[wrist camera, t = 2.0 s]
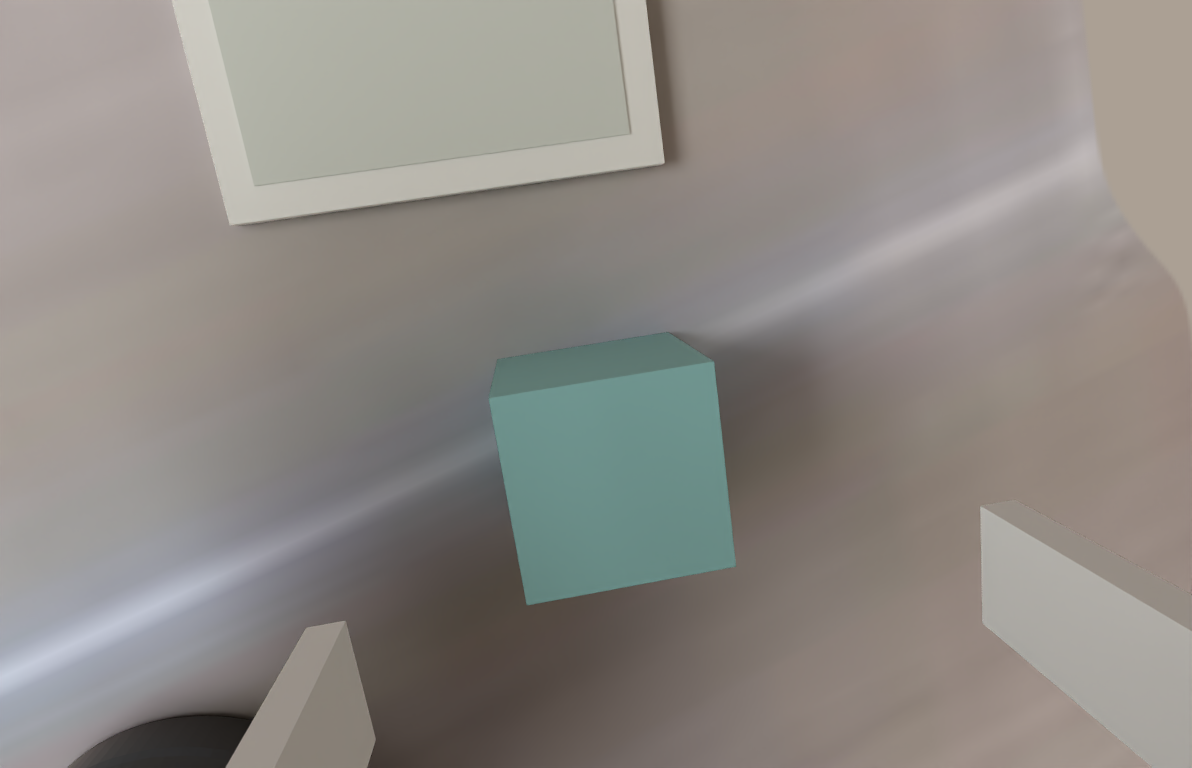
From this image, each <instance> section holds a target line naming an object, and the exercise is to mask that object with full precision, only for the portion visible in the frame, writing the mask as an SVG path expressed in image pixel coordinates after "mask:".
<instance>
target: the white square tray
mask: <svg viewBox="0 0 1192 768" xmlns="http://www.w3.org/2000/svg"><path fill="white" fill-rule="evenodd" d="M172 4H173V8H174V12H175V16H176V19H177V23H178V27H179V31H180V35H181V39H182V43H183V46H184V50H185V54H186V58H187V62H188V66H189V70H190V74H191V77H192V81H193V85H194V89H195V93H196V97H197V101H198V104H199V108H200V112H201V116H202V120H203V124H204V128H205V132H206V135H207V139H208V143H209V147H210V151H211V155H212V159H213V162H214V166H215V170H216V174H217V178H218V182H219V186H220V189H221V193H222V197H223V201H224V205H225V209H226V213H227V217H228V220H229V224H230V225H235V226H240V225H247V224H254V223H261V222H268V221H275V220H282V219H289V218H296V217H303V216H310V215H317V214H324V213H331V212H338V211H345V210H352V209H359V208H366V207H373V206H380V205H387V204H394V203H401V202H408V201H415V200H422V199H429V198H436V197H443V196H450V195H457V194H464V193H471V192H478V191H485V190H492V189H499V188H506V187H513V186H520V185H527V184H534V183H541V182H548V181H555V180H562V179H569V178H576V177H583V176H590V175H597V174H604V173H611V172H618V171H625V170H632V169H639V168H646V167H653V166H660V165H662V164H664V163H665V161H664V153H663V144H662V136H661V127H660V118H659V110H658V101H657V93H656V84H655V76H654V67H653V58H652V50H651V41H650V33H649V24H648V15H647V7H646V0H172Z"/></svg>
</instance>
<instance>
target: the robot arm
mask: <svg viewBox="0 0 1192 768" xmlns="http://www.w3.org/2000/svg"><path fill="white" fill-rule="evenodd" d="M980 514H981V569H982V623H983V624H984V625H985V626H986V627H988V628H989V629H990V630H991V631H992V632H994V633H995V634H996V635H997V636H998V637H999V638H1001V639H1002V640H1003V641H1004V642H1005V643H1006V644H1008V645H1009V646H1010V647H1011V648H1012V649H1014V650H1015V651H1016V652H1017V653H1018V654H1019V655H1021V656H1022V657H1023V658H1024V659H1025V660H1026V661H1028V662H1029V663H1030V664H1031V665H1032V666H1034V667H1035V668H1036V669H1037V670H1038V671H1039V672H1041V673H1042V674H1043V675H1044V676H1045V677H1046V678H1048V679H1049V680H1050V681H1051V682H1052V683H1054V684H1055V685H1056V686H1057V687H1058V688H1059V689H1061V690H1062V691H1063V692H1064V693H1065V694H1067V695H1068V696H1069V697H1070V698H1071V699H1072V700H1074V701H1075V702H1076V703H1077V704H1078V705H1079V706H1081V707H1082V708H1083V709H1084V710H1085V711H1087V712H1088V713H1089V714H1090V715H1091V716H1092V717H1094V718H1095V719H1096V720H1097V721H1098V722H1099V723H1101V724H1102V725H1103V726H1104V727H1105V728H1107V729H1108V730H1109V731H1110V732H1111V733H1112V734H1114V735H1115V736H1116V737H1117V738H1118V739H1119V740H1121V741H1122V742H1123V743H1124V744H1125V745H1127V746H1128V747H1129V748H1130V749H1131V750H1132V751H1134V752H1135V753H1136V754H1137V755H1138V756H1139V757H1141V758H1142V759H1143V760H1144V761H1145V762H1147V763H1148V764H1149V765H1150V766H1151V767H1152V768H1192V594H1190V593H1188V592H1186V591H1184V590H1182V589H1180V588H1179V587H1177V586H1175V585H1173V584H1171V583H1169V582H1167V581H1166V580H1164V579H1162V578H1160V577H1158V576H1156V575H1154V574H1152V573H1151V572H1149V571H1147V570H1145V569H1143V568H1141V567H1139V566H1138V565H1136V564H1134V563H1132V562H1130V561H1128V560H1126V559H1125V558H1123V557H1121V556H1119V555H1117V554H1115V553H1113V552H1112V551H1110V550H1108V549H1106V548H1104V547H1102V546H1100V545H1099V544H1097V543H1095V542H1093V541H1091V540H1089V539H1087V538H1086V537H1084V536H1082V535H1080V534H1078V533H1076V532H1074V531H1072V530H1071V529H1069V528H1067V527H1065V526H1063V525H1061V524H1059V523H1058V522H1056V521H1054V520H1052V519H1050V518H1048V517H1046V516H1045V515H1043V514H1041V513H1039V512H1037V511H1035V510H1033V509H1032V508H1030V507H1028V506H1026V505H1024V504H1022V503H1020V502H1019V501H1017V500H1011V501H1005V502H999V503H994V504H988V505H983V506H980ZM375 741H376V738H375V734H374V730H373V726H372V722H371V718H370V714H369V710H368V706H367V702H366V698H365V695H364V691H363V687H362V683H361V679H360V675H359V671H358V667H357V663H356V659H355V655H354V651H353V647H352V643H351V639H350V635H349V632H348V628H347V624H346V621H340V622H335V623H329V624H323V625H318V626H312V627H307V628H306V629H305V631H304V632H303V634H302V636H301V638H300V639H299V641H298V643H297V645H296V646H295V648H294V650H293V651H292V653H291V655H290V657H289V658H288V660H287V662H286V664H285V665H284V667H283V669H282V671H281V672H280V674H279V676H278V677H277V679H276V681H275V683H274V684H273V686H272V688H271V690H270V691H269V693H268V695H267V697H266V698H265V700H264V702H263V703H262V705H261V707H260V709H259V710H258V712H257V714H256V716H255V717H254V719H253V721H250V720H245V719H239V718H232V717H221V716H190V717H180V718H172V719H166V720H161V721H156V722H152V723H148V724H145V725H141V726H138V727H135V728H132V729H130V730H127V731H124V732H122V733H120V734H117V735H115V736H113V737H111V738H109V739H107V740H105V741H103V742H101V743H100V744H98V745H96V746H95V747H93V748H92V749H90V750H89V751H87V752H86V753H85V754H83V755H82V756H80V757H79V758H78V759H77V760H76V761H74V762H73V763H72V764H71V765H70V766H69V767H68V768H367V767H368V763H369V760H370V757H371V754H372V751H373V747H374V744H375Z"/></svg>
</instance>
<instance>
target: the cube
mask: <svg viewBox="0 0 1192 768" xmlns="http://www.w3.org/2000/svg"><path fill="white" fill-rule="evenodd" d="M488 399H489V404H490V409H491V415H492V420H493V426H494V431H495V436H496V442H497V447H498V453H499V458H500V463H501V469H502V474H503V480H504V485H505V490H506V496H507V501H508V507H509V512H510V517H511V523H512V528H513V534H514V539H515V544H516V550H517V555H518V561H519V566H520V571H521V577H522V582H523V588H524V593H525V598H526V604H527V605H532V604H538V603H543V602H548V601H554V600H559V599H565V598H570V597H575V596H581V595H586V594H591V593H597V592H602V591H608V590H613V589H618V588H624V587H629V586H635V585H640V584H645V583H651V582H656V581H661V580H667V579H672V578H678V577H683V576H688V575H694V574H699V573H705V572H710V571H715V570H721V569H726V568H731V567H736V562H735V552H734V543H733V534H732V524H731V515H730V506H729V496H728V487H727V478H726V468H725V459H724V450H723V441H722V431H721V422H720V413H719V403H718V394H717V385H716V375H715V366H714V361H713V360H711V359H709V358H708V357H706V356H705V355H703V354H701V353H700V352H698V351H697V350H695V349H694V348H692V347H690V346H689V345H687V344H686V343H684V342H683V341H681V340H679V339H678V338H676V337H675V336H673V335H672V334H670V333H668V332H665V333H659V334H653V335H647V336H640V337H634V338H628V339H622V340H615V341H609V342H603V343H597V344H590V345H584V346H578V347H572V348H565V349H559V350H553V351H546V352H540V353H534V354H528V355H521V356H515V357H509V358H503V359H498V360H497V364H496V368H495V373H494V377H493V381H492V385H491V390H490V394H489V398H488Z"/></svg>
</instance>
